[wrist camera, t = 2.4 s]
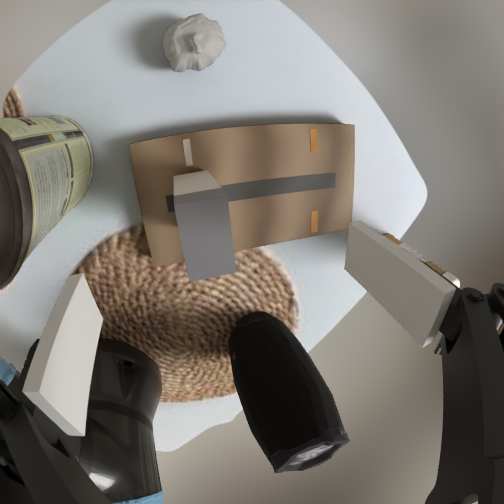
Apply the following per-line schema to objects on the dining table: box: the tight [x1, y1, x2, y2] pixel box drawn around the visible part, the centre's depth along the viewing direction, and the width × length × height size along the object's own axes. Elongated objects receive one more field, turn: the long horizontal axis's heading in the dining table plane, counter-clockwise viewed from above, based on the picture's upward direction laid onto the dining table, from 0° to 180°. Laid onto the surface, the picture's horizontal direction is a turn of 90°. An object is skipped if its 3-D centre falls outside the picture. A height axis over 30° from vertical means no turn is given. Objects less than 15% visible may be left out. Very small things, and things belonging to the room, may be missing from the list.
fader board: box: [129, 123, 355, 267], centre depth 26 cm, size 22×12×2 cm, turn 94°
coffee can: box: [0, 116, 94, 289], centre depth 14 cm, size 10×10×14 cm
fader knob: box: [173, 170, 236, 282], centre depth 20 cm, size 3×5×9 cm, turn 4°
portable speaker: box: [228, 312, 350, 473], centre depth 28 cm, size 9×9×20 cm
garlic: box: [163, 14, 226, 72], centre depth 17 cm, size 6×5×5 cm
